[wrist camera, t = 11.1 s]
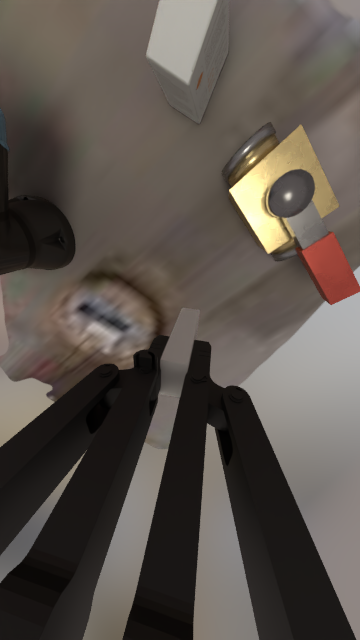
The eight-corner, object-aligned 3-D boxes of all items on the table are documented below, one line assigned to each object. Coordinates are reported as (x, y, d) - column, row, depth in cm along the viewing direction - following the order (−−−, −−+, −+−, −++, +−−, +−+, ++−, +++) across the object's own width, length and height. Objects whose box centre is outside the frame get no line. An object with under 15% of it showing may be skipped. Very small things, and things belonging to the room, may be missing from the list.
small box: (194, 28, 25) (176, -81, 16) (229, 52, 25) (232, -41, 16) (168, 106, 29) (143, 55, 20) (199, 126, 29) (188, 85, 20)
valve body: (221, 187, 32) (220, 173, 23) (272, 140, 28) (296, 99, 19) (263, 254, 36) (277, 267, 26) (313, 220, 32) (351, 220, 22)
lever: (258, 194, 23) (262, 191, 21) (295, 163, 21) (304, 157, 19) (318, 299, 27) (326, 307, 25) (353, 282, 25) (366, 288, 23)
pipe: (221, 178, 31) (220, 167, 25) (265, 136, 28) (277, 110, 21) (270, 256, 35) (280, 265, 29) (313, 228, 32) (336, 230, 25)
